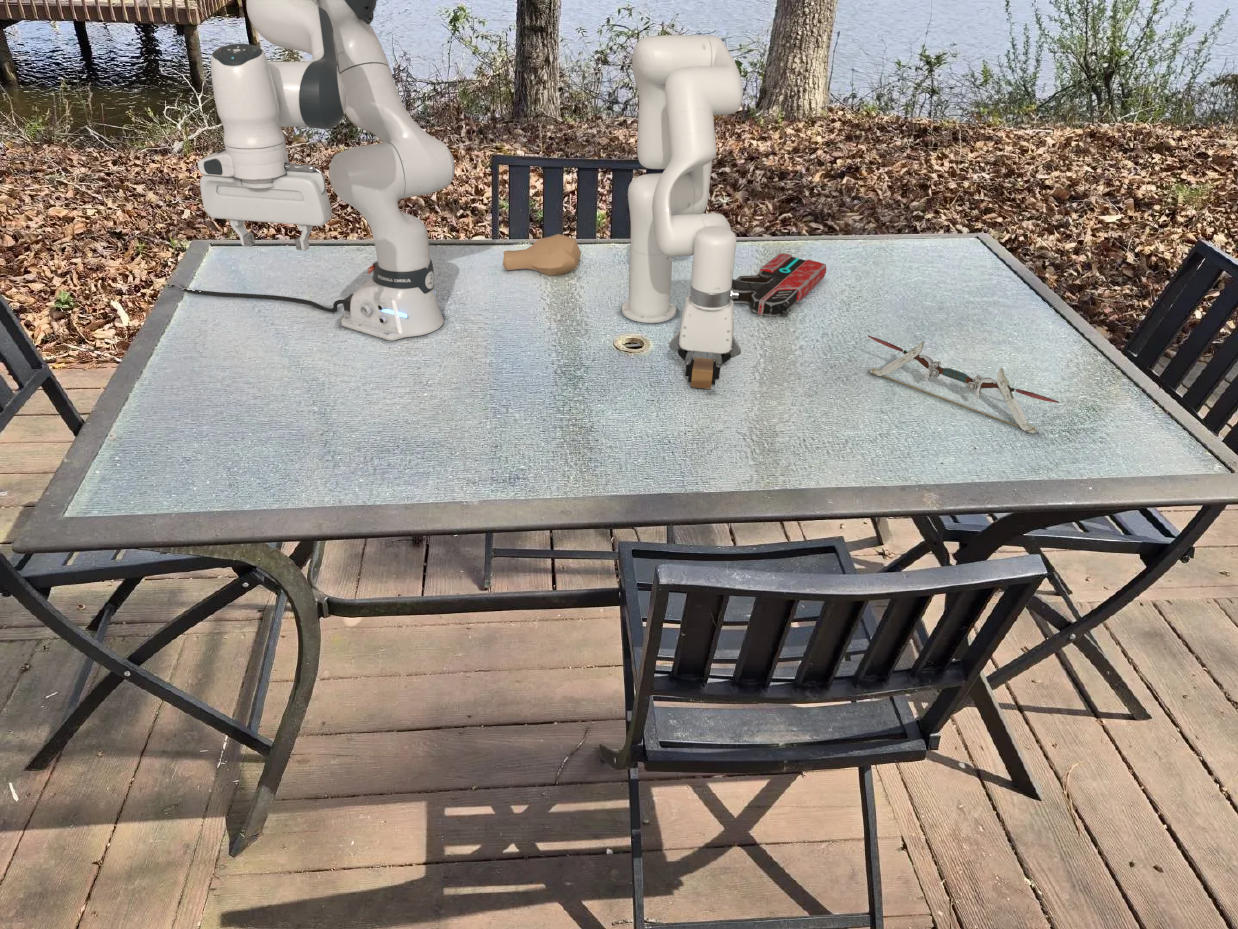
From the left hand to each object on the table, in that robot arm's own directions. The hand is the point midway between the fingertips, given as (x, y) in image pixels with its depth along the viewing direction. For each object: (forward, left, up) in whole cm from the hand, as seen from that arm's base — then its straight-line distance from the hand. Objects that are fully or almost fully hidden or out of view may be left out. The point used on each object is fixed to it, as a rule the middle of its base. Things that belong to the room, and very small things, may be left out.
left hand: (275, 247), depth 144 cm
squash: (+13, +82, -32) cm, 89 cm away
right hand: (+66, +36, -30) cm, 81 cm away
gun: (+70, +90, -32) cm, 119 cm away
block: (+66, +36, -31) cm, 81 cm away
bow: (+113, +48, -32) cm, 126 cm away
